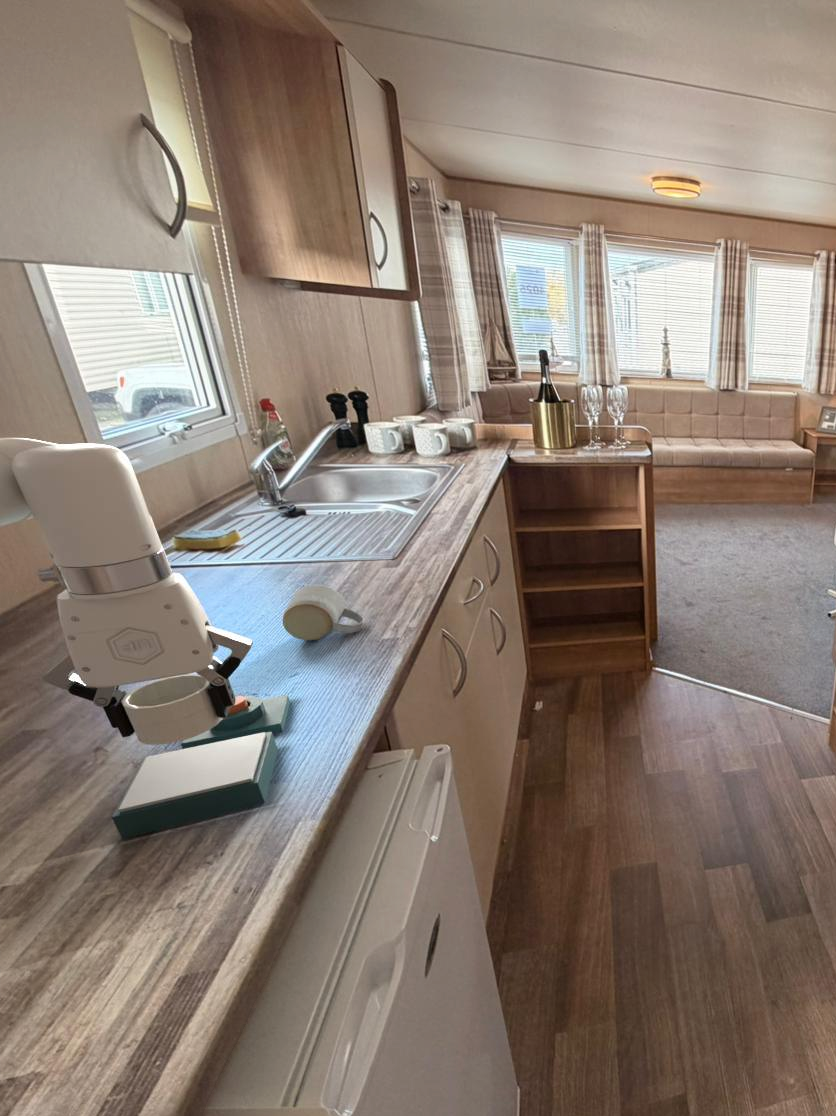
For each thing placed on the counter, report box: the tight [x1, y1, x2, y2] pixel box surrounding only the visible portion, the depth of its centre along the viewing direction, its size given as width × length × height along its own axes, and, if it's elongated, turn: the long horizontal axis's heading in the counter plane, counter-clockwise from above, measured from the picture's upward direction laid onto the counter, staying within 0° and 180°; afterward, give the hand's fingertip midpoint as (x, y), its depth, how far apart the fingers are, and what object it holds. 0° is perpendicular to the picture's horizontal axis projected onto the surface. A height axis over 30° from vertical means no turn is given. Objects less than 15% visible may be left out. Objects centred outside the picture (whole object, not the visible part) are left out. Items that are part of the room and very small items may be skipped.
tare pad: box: [180, 694, 291, 749], centre depth 85 cm, size 10×8×3 cm
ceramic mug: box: [282, 584, 365, 642], centre depth 110 cm, size 11×8×8 cm
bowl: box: [121, 673, 223, 746], centre depth 70 cm, size 7×7×5 cm
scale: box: [111, 732, 279, 839], centre depth 74 cm, size 12×11×3 cm
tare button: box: [228, 695, 248, 715], centre depth 85 cm, size 3×3×1 cm
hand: (179, 719), depth 70 cm, fingers closed on bowl, 7 cm apart
